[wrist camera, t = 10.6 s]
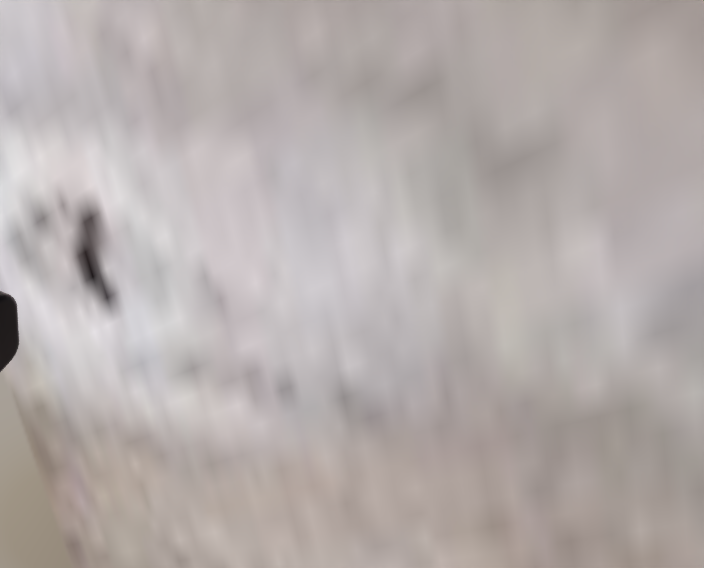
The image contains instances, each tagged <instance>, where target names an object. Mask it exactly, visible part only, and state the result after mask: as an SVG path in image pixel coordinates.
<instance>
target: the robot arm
mask: <svg viewBox="0 0 704 568" xmlns="http://www.w3.org/2000/svg"><path fill="white" fill-rule="evenodd" d="M18 345H19V331H18V314H17V304H16V301H15V300H14V298H13V297H12V296H11V295H9V294H6V293H4V292H2V291H0V372H1V371H2V370H3V369H4V368H5V366H6V365H7V364H8V363H9V362H10V361H11V360H12V358H13V357H14V355H15V354H16V352H17V349H18Z"/></svg>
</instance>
